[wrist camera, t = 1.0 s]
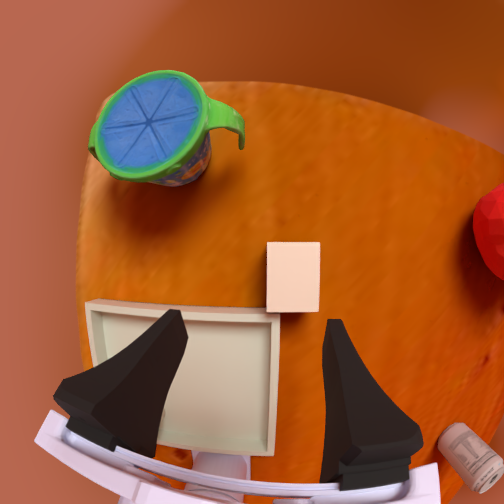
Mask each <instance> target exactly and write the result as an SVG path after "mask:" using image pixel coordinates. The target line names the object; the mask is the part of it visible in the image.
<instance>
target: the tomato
mask: <svg viewBox="0 0 504 504" xmlns="http://www.w3.org/2000/svg"><path fill="white" fill-rule="evenodd" d="M473 231H474V235H475V240H476V244H477V247H478V249H479V251H480V253H481V256H482V258H483V260H484V262H485V264H486V266H487V267H488V268H489V269H490V270H491V271H492V273H493V274H494V275H496V276H497V277H499V278H500V279H502V280H503V281H504V183H502V184H500V185H498V186H497V187H496V188H495V189H493V190H492V191H491V192H489V193H488V194H487V195H485V196H483V197H482V198H481V199H480V200H479V202H478V203H477V205H476V208H475V211H474V214H473Z"/></svg>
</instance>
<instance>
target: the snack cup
mask: <svg viewBox="0 0 504 504" xmlns="http://www.w3.org/2000/svg"><path fill="white" fill-rule="evenodd" d="M216 128H225V129H227V130H230V131H232V132H235V133H237V134H239V149H240V150H243V148H244V144H245V130H244V129H245V123H244V119H243V118H242V116H241V115H240V114H239V113H238V112H237V111H235V110H234V109H233V108H231V107H229V106H228V105H226V104H224V103H222V102H220V101H216V100H213V99H211V98H209V97H208V96H207V95H206V94H205V92H204V90H203V88H202V87H201V85H200V84H199V83H198V82H197V81H196V80H195V79H194V78H192V77H191V76H189V75H187V74H185V73H183V72H178V71H173V70H161V71H154V72H150V73H147V74H144V75H141V76H139V77H137V78H135V79H134V80H131V81H130V82H128V83H127V84H126V85H124V86H123V87H122V88H121V89H119V90H118V91H117V92H116V93H115V94H114V95H113V96H112V97H111V98H110V100H109V101H108V102H107V104H106V105H105V107H104V108H103V110H102V112H101V114H100V116H99V119H98V121H97V122H96V123H95V124H94V126H93V127H92V130H91V133H90V137H89V145H88V150H89V151H90V153H91V154H92V155H93V156H94V157H95V158H96V159H97V160H98V161H99V162H100V163H101V164H102V166H103V167H104V168H105V169H106V170H108V171H109V172H110V175H111V176H112V177H114V178H116V179H118V180H126V181H130V182H138V183H139V182H150V183H154V184H159V185H163V186H171V187H176V186H181V185H184V184H187V183H190V182H192V181H195V180H197V178H198V177H199V176H200V175H201V174H202V172H203V171H204V170H205V168H206V167H207V165H208V163H209V160H210V156H211V142H210V134H209V131H210V130H212V129H216Z"/></svg>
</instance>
